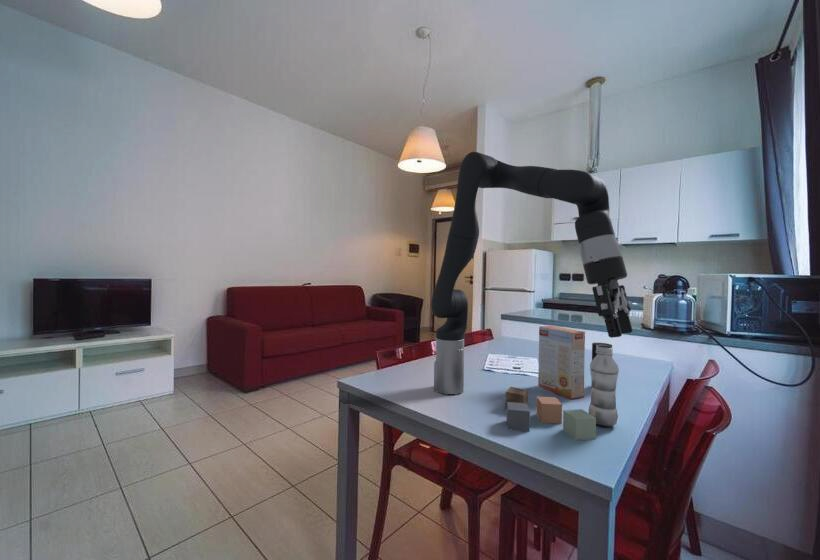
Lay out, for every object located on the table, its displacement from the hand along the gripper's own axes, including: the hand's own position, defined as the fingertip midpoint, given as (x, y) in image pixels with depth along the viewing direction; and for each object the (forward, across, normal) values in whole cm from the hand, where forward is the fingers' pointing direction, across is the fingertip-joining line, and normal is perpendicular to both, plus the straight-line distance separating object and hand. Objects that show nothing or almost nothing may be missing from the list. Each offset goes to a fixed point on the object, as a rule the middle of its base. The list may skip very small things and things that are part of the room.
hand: (621, 335), depth 68 cm
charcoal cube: (+20, +1, -28) cm, 34 cm away
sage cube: (+23, -6, -16) cm, 28 cm away
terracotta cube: (+20, -9, -24) cm, 33 cm away
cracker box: (+18, -33, -30) cm, 48 cm away
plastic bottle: (+23, -16, -14) cm, 31 cm away
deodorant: (+20, -47, -22) cm, 56 cm away
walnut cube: (+18, -10, -33) cm, 39 cm away
